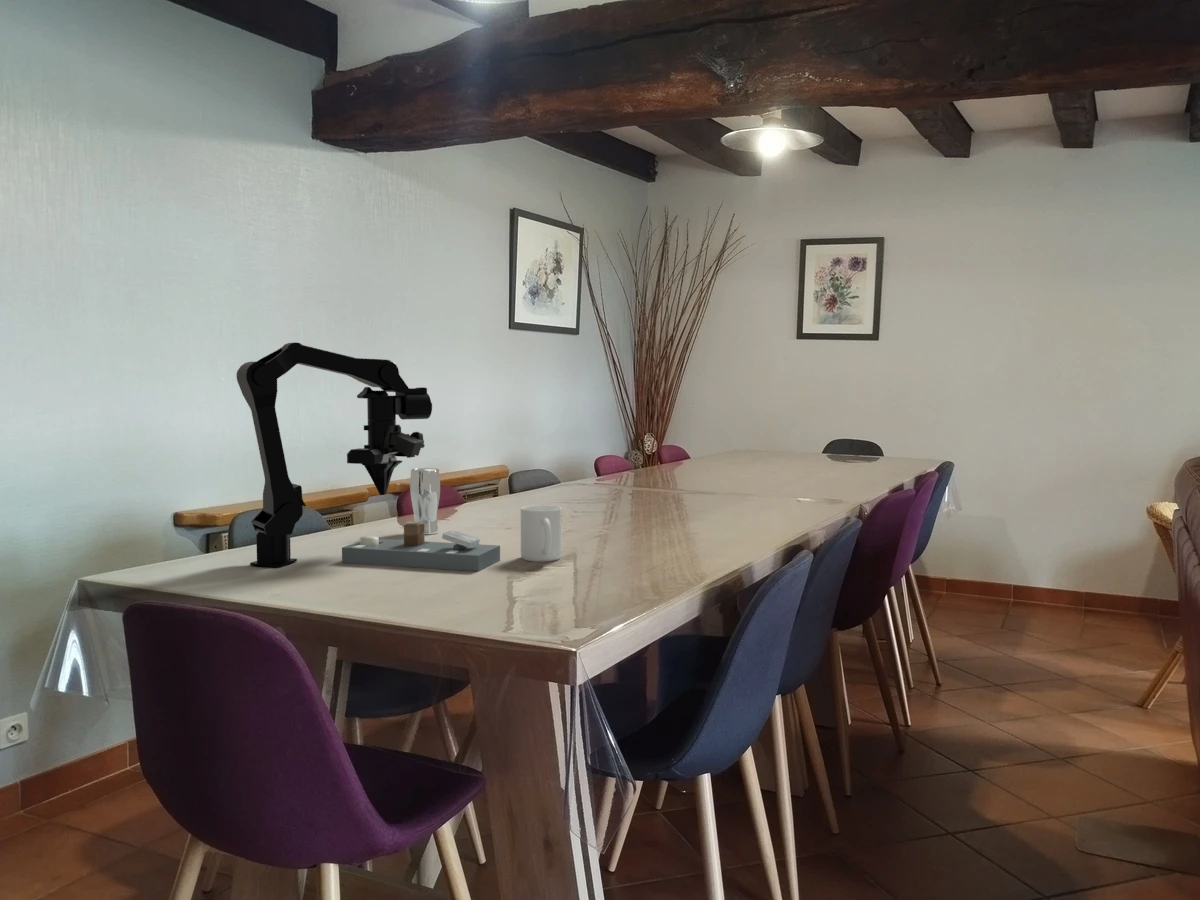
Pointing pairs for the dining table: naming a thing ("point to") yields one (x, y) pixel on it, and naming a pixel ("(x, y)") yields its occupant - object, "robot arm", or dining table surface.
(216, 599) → the dining table surface
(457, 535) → the rocker paddle
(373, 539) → the white rounded cube
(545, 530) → the mug
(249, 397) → the robot arm
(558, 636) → the dining table surface
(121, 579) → the dining table surface
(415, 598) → the dining table surface
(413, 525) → the slider knob
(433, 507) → the beer glass
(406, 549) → the console
